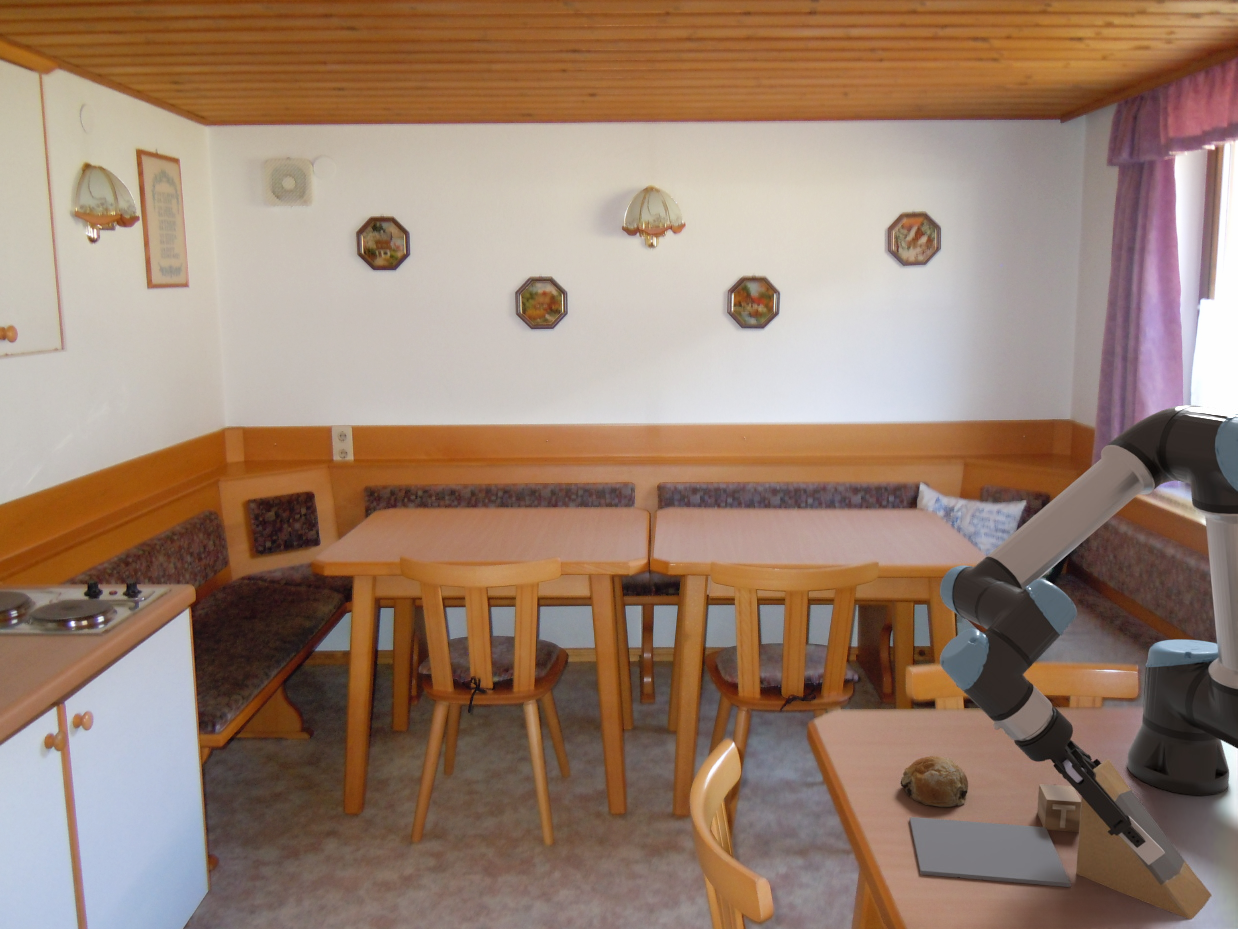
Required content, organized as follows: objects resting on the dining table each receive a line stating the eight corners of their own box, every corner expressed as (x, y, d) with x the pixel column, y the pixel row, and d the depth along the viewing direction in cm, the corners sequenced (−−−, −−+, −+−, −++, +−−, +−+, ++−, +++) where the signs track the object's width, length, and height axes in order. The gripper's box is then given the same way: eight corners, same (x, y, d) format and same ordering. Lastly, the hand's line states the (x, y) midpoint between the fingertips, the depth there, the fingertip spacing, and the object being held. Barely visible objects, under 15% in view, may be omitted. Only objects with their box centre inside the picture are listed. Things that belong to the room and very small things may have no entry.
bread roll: (944, 833, 164) (969, 796, 161) (888, 793, 168) (911, 756, 165) (960, 806, 172) (984, 771, 169) (906, 768, 176) (928, 733, 173)
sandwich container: (1192, 923, 135) (1202, 816, 132) (1074, 875, 146) (1082, 776, 143) (1214, 896, 140) (1224, 793, 138) (1099, 852, 151) (1107, 756, 149)
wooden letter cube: (1070, 816, 162) (1072, 786, 161) (1079, 833, 156) (1082, 802, 156) (1037, 813, 162) (1039, 784, 161) (1044, 830, 157) (1047, 800, 156)
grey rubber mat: (1045, 831, 157) (1045, 827, 157) (1070, 887, 142) (1070, 883, 142) (909, 820, 160) (909, 817, 160) (920, 874, 146) (920, 870, 146)
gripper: (995, 704, 157) (1093, 804, 157) (1031, 781, 133) (1147, 898, 133) (1034, 673, 155) (1133, 774, 155) (1077, 745, 131) (1195, 864, 131)
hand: (1140, 831), depth 144 cm, fingers open, 13 cm apart
